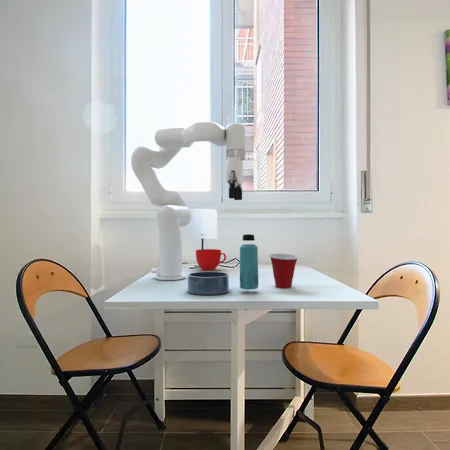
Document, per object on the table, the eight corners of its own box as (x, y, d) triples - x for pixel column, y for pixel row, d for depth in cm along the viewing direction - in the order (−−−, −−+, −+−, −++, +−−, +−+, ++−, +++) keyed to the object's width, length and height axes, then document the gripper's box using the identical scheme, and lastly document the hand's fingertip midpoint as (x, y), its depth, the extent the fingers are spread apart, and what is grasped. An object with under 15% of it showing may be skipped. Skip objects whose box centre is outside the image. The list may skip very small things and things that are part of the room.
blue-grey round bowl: (186, 295, 115) (186, 277, 115) (189, 287, 130) (189, 271, 130) (229, 295, 116) (229, 277, 116) (227, 287, 130) (227, 271, 130)
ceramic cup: (218, 272, 168) (218, 251, 168) (190, 270, 177) (190, 250, 177) (232, 269, 179) (232, 250, 179) (205, 267, 188) (205, 248, 188)
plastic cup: (280, 290, 124) (280, 256, 124) (263, 285, 134) (263, 254, 134) (304, 288, 129) (304, 255, 129) (286, 283, 139) (286, 253, 139)
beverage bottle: (257, 294, 118) (257, 234, 117) (237, 293, 119) (237, 234, 119) (259, 290, 124) (259, 234, 124) (240, 290, 125) (240, 233, 125)
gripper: (231, 160, 148) (231, 200, 148) (221, 151, 131) (221, 197, 131) (248, 159, 146) (248, 200, 146) (240, 150, 129) (240, 197, 129)
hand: (235, 199), depth 139 cm, fingers open, 9 cm apart
